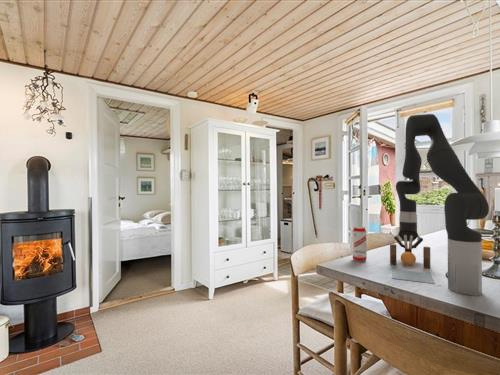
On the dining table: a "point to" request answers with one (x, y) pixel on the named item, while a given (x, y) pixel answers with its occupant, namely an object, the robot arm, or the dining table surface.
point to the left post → (393, 254)
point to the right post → (426, 257)
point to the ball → (408, 258)
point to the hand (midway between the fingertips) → (408, 256)
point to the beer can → (359, 244)
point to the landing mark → (412, 276)
